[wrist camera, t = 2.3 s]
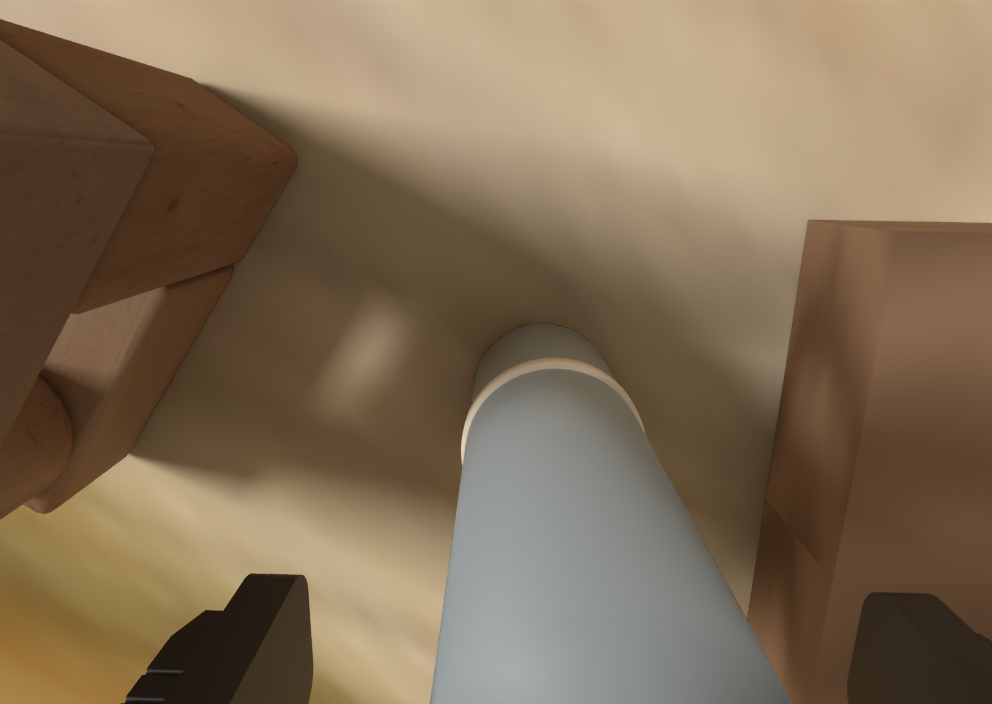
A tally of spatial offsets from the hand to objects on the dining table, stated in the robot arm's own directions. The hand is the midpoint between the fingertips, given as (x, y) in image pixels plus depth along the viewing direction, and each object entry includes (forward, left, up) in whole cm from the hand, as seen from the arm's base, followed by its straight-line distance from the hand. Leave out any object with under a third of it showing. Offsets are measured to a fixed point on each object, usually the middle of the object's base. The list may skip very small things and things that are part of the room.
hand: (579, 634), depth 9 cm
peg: (0, 0, -10) cm, 10 cm away
